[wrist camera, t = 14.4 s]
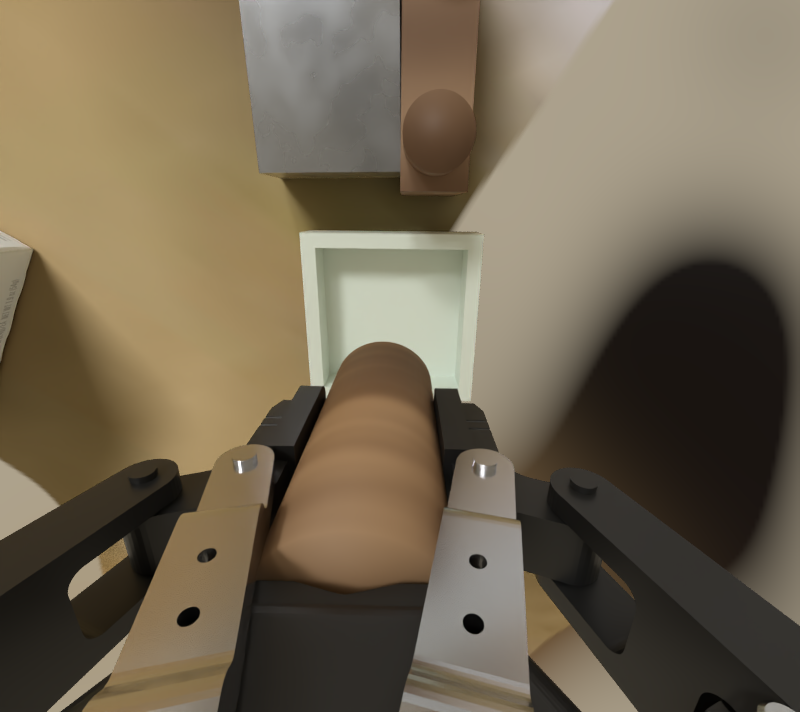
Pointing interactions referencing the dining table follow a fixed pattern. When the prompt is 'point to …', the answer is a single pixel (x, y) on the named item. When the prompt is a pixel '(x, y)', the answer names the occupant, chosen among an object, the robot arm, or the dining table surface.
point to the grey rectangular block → (325, 86)
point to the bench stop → (437, 95)
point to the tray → (393, 299)
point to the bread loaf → (364, 482)
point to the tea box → (11, 280)
